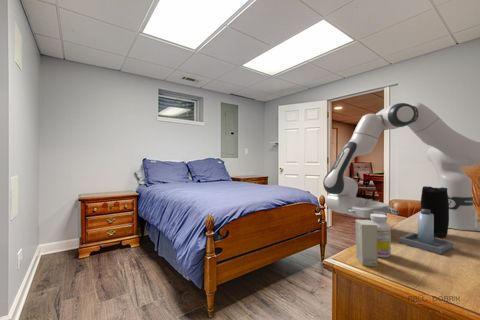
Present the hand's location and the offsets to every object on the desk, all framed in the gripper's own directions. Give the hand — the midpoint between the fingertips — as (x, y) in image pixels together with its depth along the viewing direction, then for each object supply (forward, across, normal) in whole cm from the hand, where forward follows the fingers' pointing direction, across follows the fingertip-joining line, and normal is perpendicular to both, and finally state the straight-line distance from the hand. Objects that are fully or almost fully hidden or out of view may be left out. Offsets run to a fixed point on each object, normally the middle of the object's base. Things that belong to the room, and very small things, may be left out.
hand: (391, 213), depth 90 cm
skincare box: (+7, -31, +9) cm, 33 cm away
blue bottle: (+11, 0, +9) cm, 14 cm away
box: (+11, 0, +9) cm, 14 cm away
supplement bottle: (+6, -22, +9) cm, 25 cm away
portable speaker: (+8, +17, +9) cm, 21 cm away
